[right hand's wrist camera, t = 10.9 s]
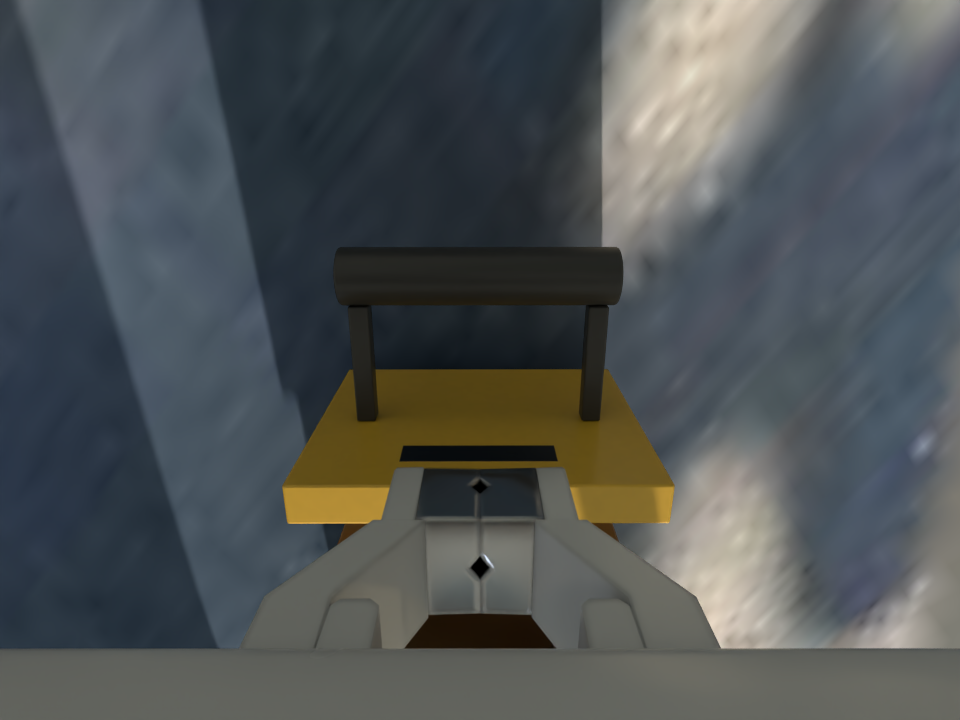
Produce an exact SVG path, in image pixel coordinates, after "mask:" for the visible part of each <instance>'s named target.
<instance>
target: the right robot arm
mask: <svg viewBox="0 0 960 720" xmlns="http://www.w3.org/2000/svg"><path fill="white" fill-rule="evenodd" d="M473 613H485V614H521V615H532V618H533V620H534V621H535V622H536V623H537V625H538V626H539V627H540V628H541V630H542V631H543V632H544V634H545V635H546V636H547V637H548V639H549V640H550V641H551V642H552V644H553V645H554V646H555V647H556V649H404V648H405V647H406V645H407V644H408V643H409V642H410V640H411V639H412V638H413V637H414V635H415V634H416V633H417V631H418V630H419V629H420V628H421V626H422V625H423V624H424V623H425V621H426V620H427V619H428V615H438V614H473ZM0 720H960V649H721V647H720V645H719V643H718V641H717V639H716V637H715V635H714V633H713V631H712V629H711V627H710V625H709V622H708V620H707V618H706V616H705V614H704V612H703V610H702V608H701V606H700V604H699V602H698V600H697V598H696V596H694V595H693V594H691V593H690V592H688V591H687V590H686V589H684V588H683V587H681V586H680V585H679V584H677V583H676V582H674V581H673V580H671V579H670V578H669V577H667V576H666V575H664V574H663V573H662V572H660V571H659V570H657V569H656V568H654V567H653V566H652V565H650V564H649V563H647V562H646V561H645V560H643V559H642V558H640V557H639V556H637V555H636V554H635V553H633V552H632V551H630V550H629V549H628V548H626V547H625V546H623V545H622V544H620V543H619V542H618V541H616V540H615V539H613V538H612V537H611V536H609V535H608V534H606V533H605V532H603V531H602V530H601V529H599V528H598V527H596V526H595V525H594V524H592V523H591V522H589V521H588V520H579V518H578V515H577V511H576V507H575V504H574V500H573V496H572V493H571V489H570V485H569V482H568V478H567V474H566V471H565V469H564V468H563V467H545V468H503V469H480V468H428V467H426V468H424V467H398V468H396V469H395V470H394V474H393V477H392V481H391V485H390V489H389V492H388V496H387V500H386V503H385V507H384V511H383V515H382V518H381V520H372V521H371V522H369V523H368V524H366V525H365V526H364V527H362V528H361V529H359V530H358V531H356V532H355V533H354V534H352V535H351V536H349V537H348V538H347V539H345V540H344V541H342V542H341V543H339V544H338V545H337V546H335V547H334V548H332V549H331V550H329V551H328V552H327V553H325V554H324V555H322V556H321V557H319V558H318V559H317V560H315V561H314V562H312V563H311V564H310V565H308V566H307V567H305V568H304V569H302V570H301V571H300V572H298V573H297V574H295V575H294V576H292V577H291V578H290V579H288V580H287V581H285V582H284V583H282V584H281V585H280V586H278V587H277V588H275V589H274V590H273V591H271V592H270V593H268V594H267V595H265V596H264V598H263V600H262V602H261V604H260V606H259V608H258V610H257V613H256V615H255V617H254V619H253V621H252V623H251V625H250V627H249V629H248V631H247V633H246V635H245V637H244V639H243V641H242V643H241V645H240V647H239V649H157V648H107V649H0Z"/></svg>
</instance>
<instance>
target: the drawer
mask: <svg viewBox="0 0 960 720" xmlns="http://www.w3.org/2000/svg"><path fill="white" fill-rule="evenodd" d="M333 275H334V287H335V293H336V297H337V299H338V302H339V303H340V304H341V305H350V306H349V307H348V317H349V329H350V340H351V352H352V364H353V370H349V371H348V373H347V375H346V377H345V378H344V380H343V382H342V383H341V385H340V387H339V389H338V390H337V392H336V394H335V396H334V397H333V399H332V401H331V402H330V404H329V406H328V408H327V409H326V411H325V413H324V415H323V416H322V418H321V420H320V422H319V423H318V425H317V427H316V428H315V430H314V432H313V434H312V435H311V437H310V439H309V441H308V442H307V444H306V446H305V447H304V449H303V451H302V453H301V454H300V456H299V458H298V460H297V461H296V463H295V465H294V466H293V468H292V470H291V472H290V473H289V475H288V477H287V479H286V480H285V482H284V484H283V486H282V488H283V495H284V502H285V509H286V516H287V522H288V523H345V525H344V528H343V531H342V533H341V536H340V539H339V542H338V544H339V543H341V542H342V541H344V540H345V539H347V538H348V537H349V536H351V535H352V534H354V533H355V532H356V531H358V530H359V529H361V528H362V527H364V526H365V525H366V524H368V523H369V522H371V521H372V520H381V518H382V515H383V511H384V507H385V503H386V500H387V496H388V492H389V489H390V485H391V481H392V477H393V474H394V470H395V469H396V468H398V467H424V468H426V467H428V468H480V469H503V468H545V467H563V468H564V469H565V471H566V474H567V478H568V482H569V485H570V489H571V493H572V496H573V500H574V504H575V507H576V511H577V515H578V518H579V520H588V521H589V522H591V523H592V524H594V525H595V526H596V527H598V528H599V529H601V530H602V531H603V532H605V533H606V534H608V535H609V536H611V537H612V538H613V539H615V540H616V541H618V538H617V535H616V532H615V529H614V527H613V524H612V523H669V522H670V516H671V509H672V502H673V494H674V487H675V486H674V483H673V482H672V480H671V478H670V476H669V475H668V473H667V471H666V470H665V468H664V466H663V464H662V463H661V461H660V459H659V457H658V456H657V454H656V452H655V450H654V449H653V447H652V445H651V443H650V442H649V440H648V438H647V437H646V435H645V433H644V431H643V430H642V428H641V426H640V424H639V423H638V421H637V419H636V417H635V416H634V414H633V412H632V410H631V409H630V407H629V405H628V403H627V402H626V400H625V398H624V397H623V395H622V393H621V391H620V390H619V388H618V386H617V384H616V383H615V381H614V379H613V377H612V376H611V374H610V372H609V370H607V369H604V364H605V351H606V339H607V327H608V314H609V307H608V306H607V305H615V304H617V303H618V301H619V299H620V296H621V292H622V285H623V260H622V255H621V252H620V250H619V248H617V247H340V248H338V249H337V251H336V254H335V259H334V270H333ZM371 305H586V312H585V327H584V342H583V357H582V369H435V370H376V369H375V355H374V341H373V326H372V312H371ZM618 542H619V541H618ZM404 649H556V647H555V646H554V645H553V644H552V642H551V641H550V640H549V639H548V637H547V636H546V635H545V634H544V632H543V631H542V630H541V628H540V627H539V626H538V625H537V623H536V622H535V621H534V620H533V618H532V615H521V614H485V613H473V614H438V615H428V619H427V620H426V621H425V623H424V624H423V625H422V626H421V628H420V629H419V630H418V631H417V633H416V634H415V635H414V637H413V638H412V639H411V640H410V642H409V643H408V644H407V645H406V647H405V648H404Z"/></svg>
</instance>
